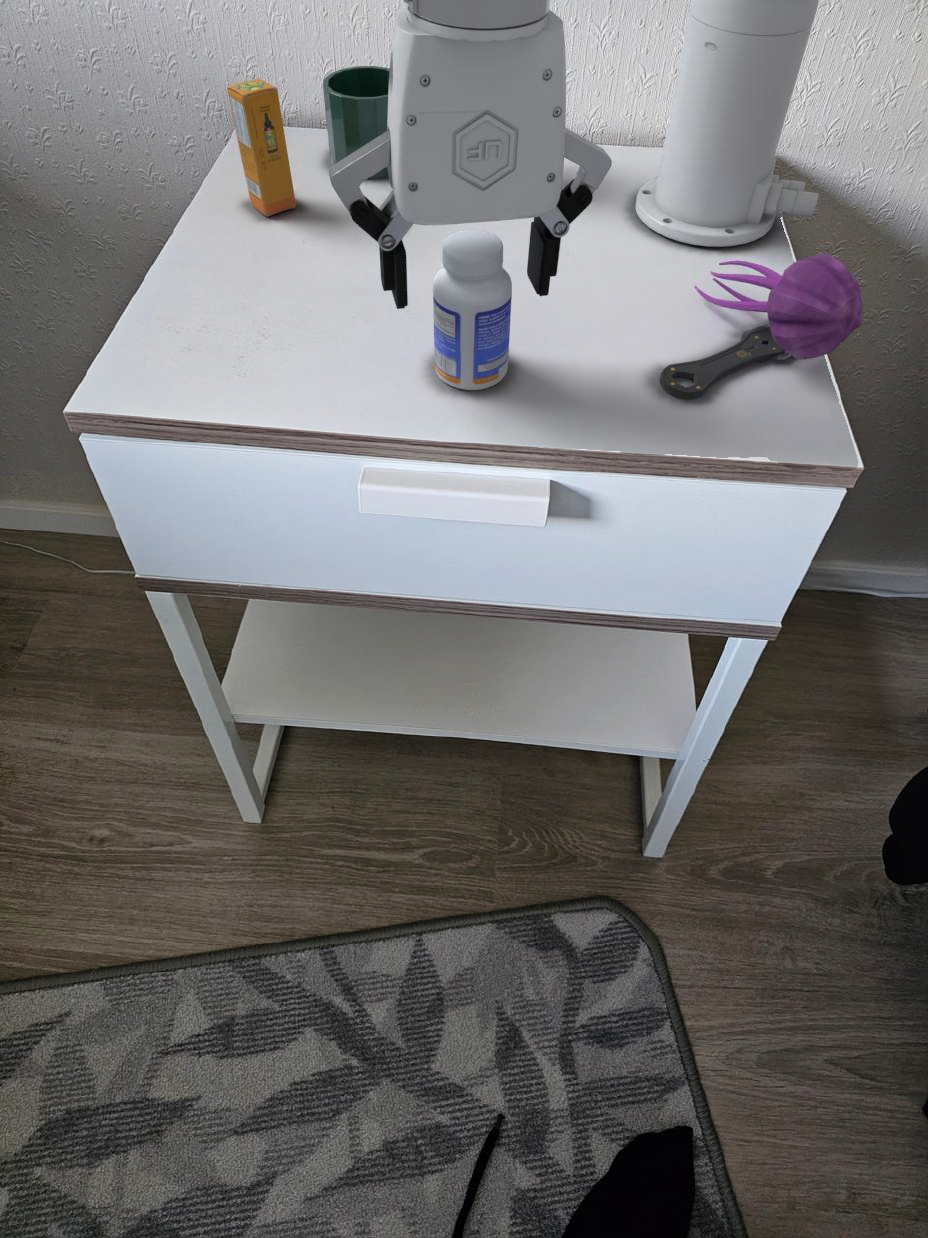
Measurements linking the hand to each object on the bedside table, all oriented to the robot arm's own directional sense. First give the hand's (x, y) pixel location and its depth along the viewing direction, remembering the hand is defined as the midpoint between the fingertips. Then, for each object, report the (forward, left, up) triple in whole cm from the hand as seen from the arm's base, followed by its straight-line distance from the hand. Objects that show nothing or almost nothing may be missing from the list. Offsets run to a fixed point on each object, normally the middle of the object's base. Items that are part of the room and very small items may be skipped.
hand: (468, 291), depth 57 cm
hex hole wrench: (-21, -10, -6) cm, 24 cm away
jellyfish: (-15, -17, -5) cm, 23 cm away
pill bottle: (0, 0, -7) cm, 7 cm away
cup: (+20, -30, -7) cm, 37 cm away
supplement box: (+25, -18, -7) cm, 32 cm away
